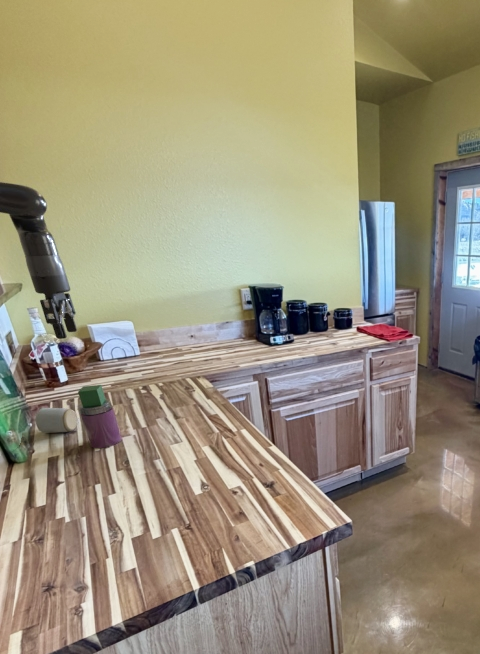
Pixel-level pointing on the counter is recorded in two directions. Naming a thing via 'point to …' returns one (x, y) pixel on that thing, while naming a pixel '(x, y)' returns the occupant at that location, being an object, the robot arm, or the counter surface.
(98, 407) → the jar lid
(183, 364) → the counter surface
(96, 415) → the jar
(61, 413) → the grey canister
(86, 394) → the block
